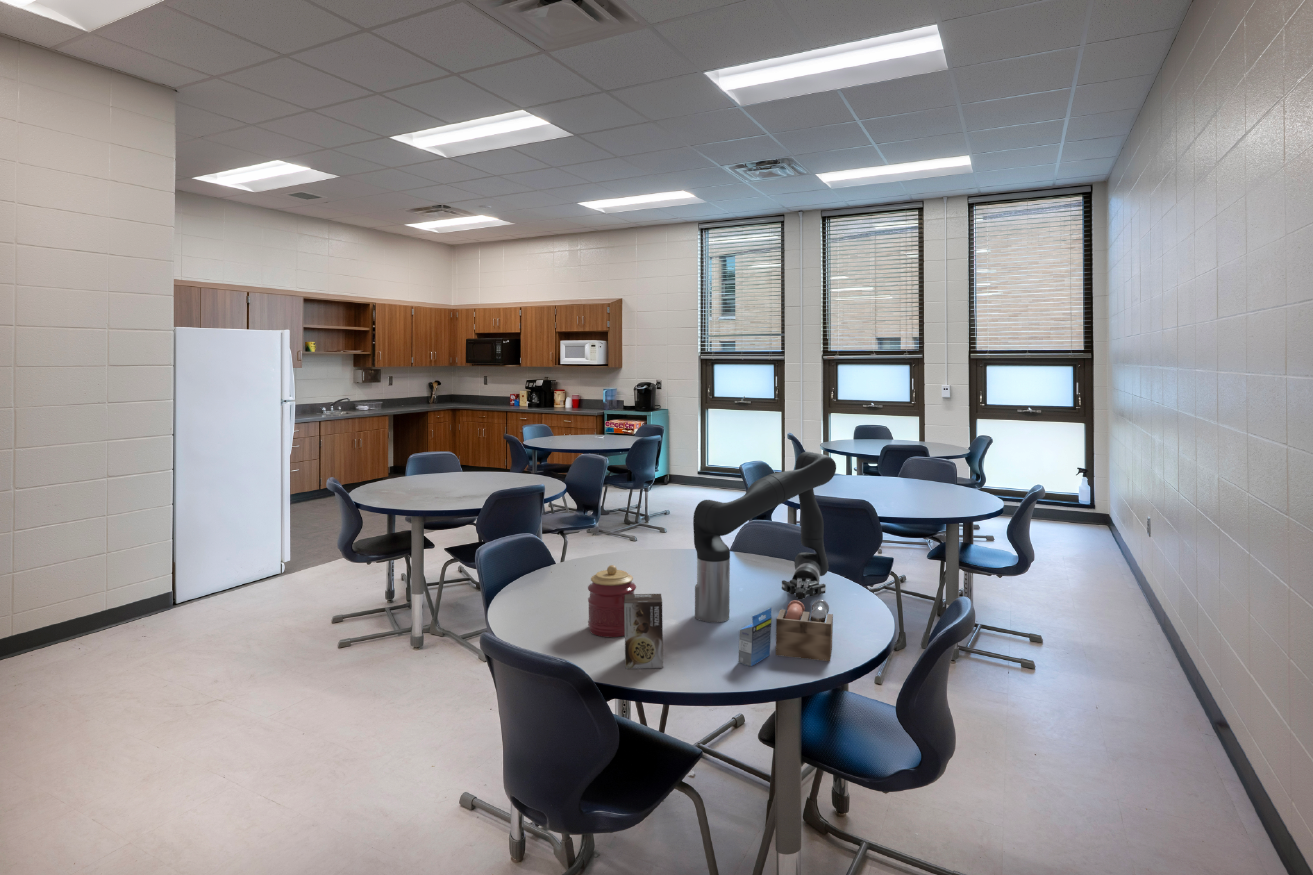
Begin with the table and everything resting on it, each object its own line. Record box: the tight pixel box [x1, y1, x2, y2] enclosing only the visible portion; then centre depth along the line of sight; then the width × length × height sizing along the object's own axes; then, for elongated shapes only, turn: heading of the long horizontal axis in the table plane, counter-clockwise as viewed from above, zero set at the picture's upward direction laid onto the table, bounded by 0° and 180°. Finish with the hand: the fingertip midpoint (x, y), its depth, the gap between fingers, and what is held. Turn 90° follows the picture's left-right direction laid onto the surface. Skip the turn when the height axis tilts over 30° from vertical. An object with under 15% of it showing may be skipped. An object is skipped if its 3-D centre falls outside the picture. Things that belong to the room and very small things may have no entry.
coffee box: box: [624, 593, 664, 670], centre depth 171 cm, size 9×6×16 cm
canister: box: [587, 564, 637, 638], centre depth 193 cm, size 13×13×18 cm
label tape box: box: [737, 607, 772, 667], centre depth 173 cm, size 9×4×12 cm, turn 141°
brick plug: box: [785, 599, 806, 620], centre depth 182 cm, size 4×10×4 cm, turn 163°
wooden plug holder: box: [775, 609, 834, 662], centre depth 178 cm, size 13×8×9 cm, turn 73°
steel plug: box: [810, 598, 830, 623], centre depth 183 cm, size 4×10×4 cm, turn 163°
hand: (800, 595), depth 197 cm, fingers closed
